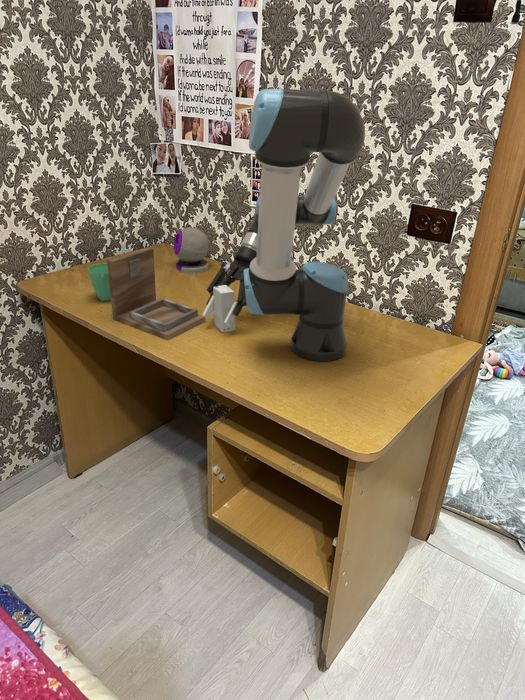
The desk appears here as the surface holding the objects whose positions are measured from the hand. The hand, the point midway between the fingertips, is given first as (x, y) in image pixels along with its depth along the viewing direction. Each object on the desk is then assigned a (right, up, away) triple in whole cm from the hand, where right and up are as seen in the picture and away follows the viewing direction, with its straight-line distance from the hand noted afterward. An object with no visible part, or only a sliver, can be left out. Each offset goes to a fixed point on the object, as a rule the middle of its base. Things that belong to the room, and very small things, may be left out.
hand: (216, 320), depth 150 cm
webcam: (-14, +23, +50) cm, 56 cm away
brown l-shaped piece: (-18, +1, +7) cm, 19 cm away
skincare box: (+2, -2, +4) cm, 5 cm away
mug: (-35, +9, +22) cm, 42 cm away
